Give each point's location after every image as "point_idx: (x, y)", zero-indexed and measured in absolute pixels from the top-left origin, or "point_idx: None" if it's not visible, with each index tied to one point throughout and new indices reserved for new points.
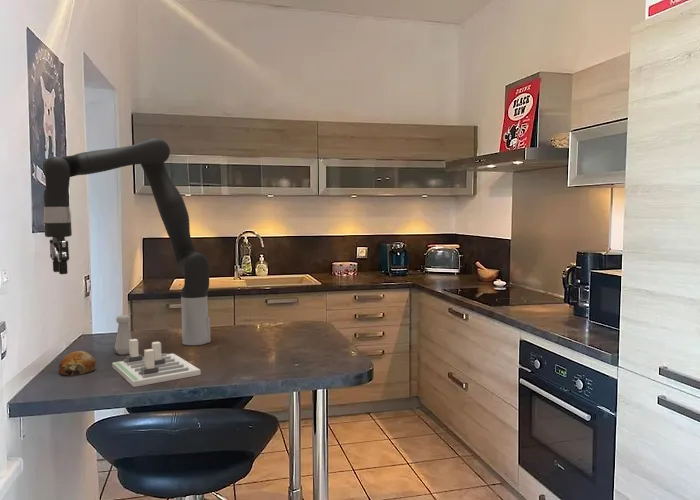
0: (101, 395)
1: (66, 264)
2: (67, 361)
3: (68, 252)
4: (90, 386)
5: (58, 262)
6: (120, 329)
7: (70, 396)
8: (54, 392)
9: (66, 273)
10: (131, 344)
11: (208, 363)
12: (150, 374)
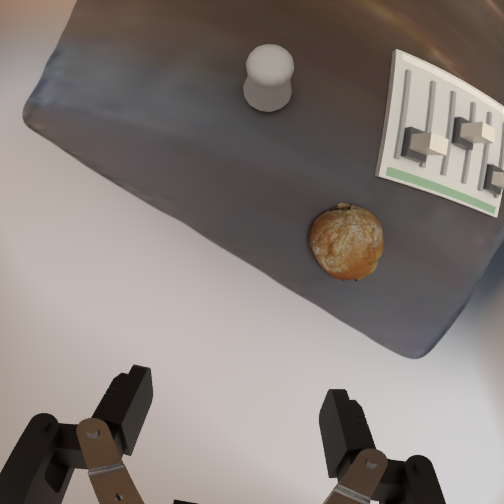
0: (484, 267)
1: (359, 436)
2: (364, 274)
3: (443, 499)
4: (445, 261)
5: (130, 423)
6: (278, 88)
7: (457, 299)
8: (426, 311)
9: (342, 391)
10: (441, 155)
11: (464, 52)
12: None
